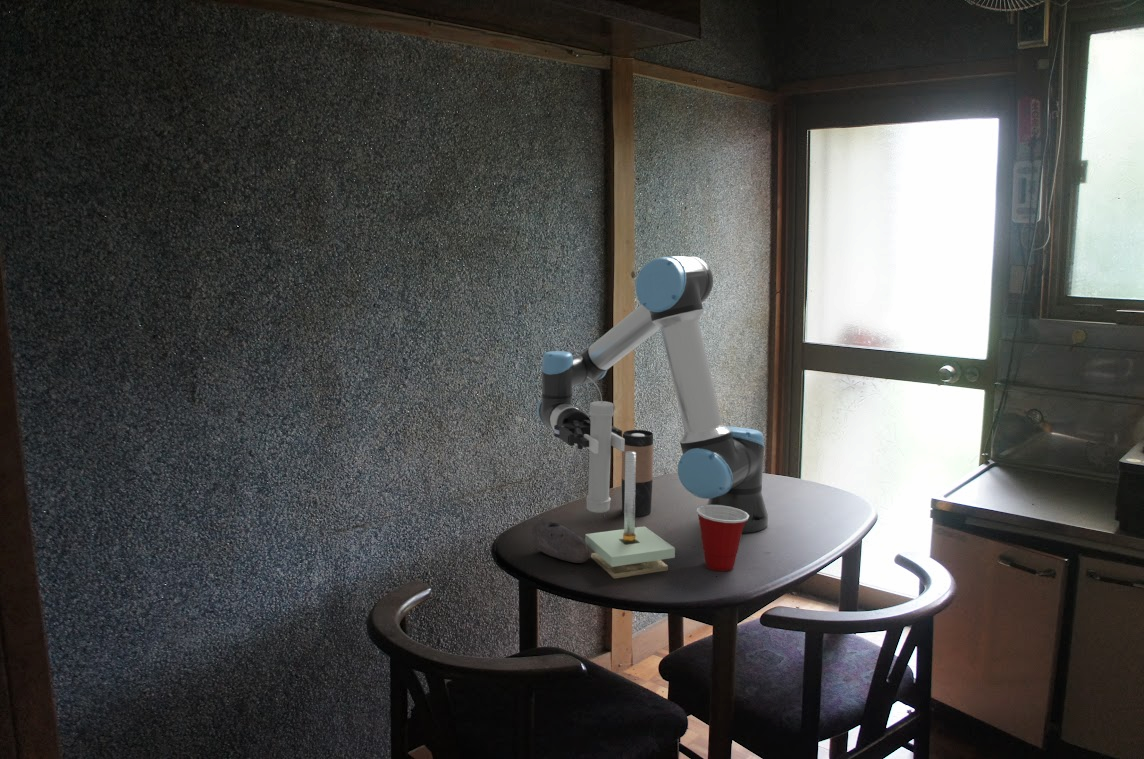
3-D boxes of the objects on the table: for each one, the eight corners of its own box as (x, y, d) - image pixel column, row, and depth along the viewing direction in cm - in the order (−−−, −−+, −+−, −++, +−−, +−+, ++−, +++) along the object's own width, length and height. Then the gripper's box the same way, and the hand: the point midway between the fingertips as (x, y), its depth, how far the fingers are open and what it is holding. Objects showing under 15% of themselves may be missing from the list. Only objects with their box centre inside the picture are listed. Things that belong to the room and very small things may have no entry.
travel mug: (658, 513, 211) (660, 434, 207) (633, 518, 207) (635, 438, 203) (638, 505, 217) (640, 428, 214) (614, 510, 213) (615, 432, 209)
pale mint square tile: (585, 543, 182) (585, 534, 182) (644, 535, 187) (644, 526, 187) (612, 566, 169) (612, 557, 169) (674, 557, 174) (675, 548, 174)
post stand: (591, 557, 182) (592, 448, 178) (642, 550, 186) (644, 443, 182) (614, 578, 171) (616, 462, 167) (667, 570, 175) (670, 456, 171)
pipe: (608, 514, 188) (613, 380, 182) (580, 511, 189) (584, 378, 184) (612, 506, 193) (617, 376, 188) (585, 503, 195) (589, 374, 189)
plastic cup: (756, 573, 174) (759, 516, 172) (708, 578, 171) (710, 521, 169) (732, 554, 184) (734, 500, 182) (686, 559, 181) (687, 504, 179)
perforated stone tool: (596, 564, 178) (596, 532, 177) (578, 571, 175) (578, 539, 173) (547, 545, 189) (547, 515, 188) (529, 551, 185) (529, 521, 184)
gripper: (605, 435, 209) (648, 459, 187) (534, 440, 202) (569, 466, 181) (606, 405, 207) (649, 426, 186) (534, 409, 201) (570, 432, 179)
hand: (609, 446), depth 184 cm, fingers closed on pipe, 5 cm apart
